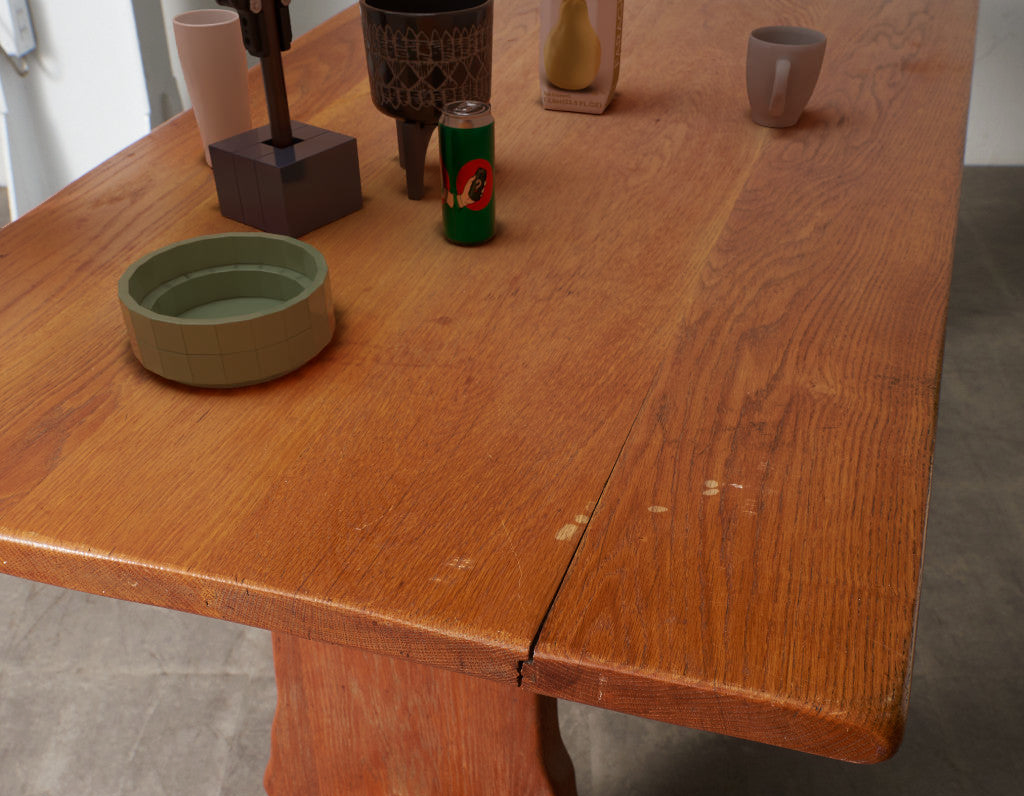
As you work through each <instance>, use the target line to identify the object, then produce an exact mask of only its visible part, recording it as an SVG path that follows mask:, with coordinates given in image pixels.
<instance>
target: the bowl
mask: <svg viewBox="0 0 1024 796" xmlns="http://www.w3.org/2000/svg"><path fill="white" fill-rule="evenodd" d="M117 298H118V302H119V305H120V310H121V313H122V316H123V320H124V323H125V327H126V331H127V334H128V338H129V342H130V346H131V349H132V353H133V355H134V356H135V358H136V359H137V360H138V362H139V363H140V364H141V365H142V366H143V368H144V369H146V370H148V371H150V372H152V373H154V374H156V375H158V376H160V377H162V378H164V379H167V380H171V381H174V382H176V383H179V384H182V385H186V386H191V387H195V388H196V387H197V388H203V389H204V388H205V389H234V388H242V387H243V388H244V387H248V386H255V385H259V384H264V383H267V382H271V381H273V380H276V379H277V380H278V378H282V377H284V376H286V375H289V374H290V373H293V372H295V371H296V370H299V368H301V367H303V366H304V365H306V364H307V363H308V362H309V361H311V360H312V359H313V358H315V357H317V356H318V355H319V354H320V352H321V351H322V350H323V349H325V347H326V346H328V344H329V343H330V342H331V341H332V338H333V335H334V332H335V329H336V324H337V323H336V317H335V308H334V300H333V292H332V284H331V276H330V269H329V266H328V263H327V260H326V257H325V255H324V254H323V253H322V252H321V251H320V250H318V248H316V247H314V245H312V244H310V243H308V242H306V241H303V240H299V239H297V238H295V239H294V238H292V237H288V236H284V235H277V234H271V233H269V232H265V231H263V232H262V231H229V232H219V233H211V234H203V235H198V236H195V237H190V238H186V239H182V240H179V241H174V242H172V243H169V244H167V245H165V246H162V247H160V248H157V249H155V250H153V251H150V252H147V253H145V254H144V255H143V256H141V257H140V258H138V259H137V260H136V261H134V262H132V263H131V264H130V265H128V266H127V268H126V269H125V271H124V272H123V273H122V275H121V276H120V277H119V278H118V281H117Z"/></svg>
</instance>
